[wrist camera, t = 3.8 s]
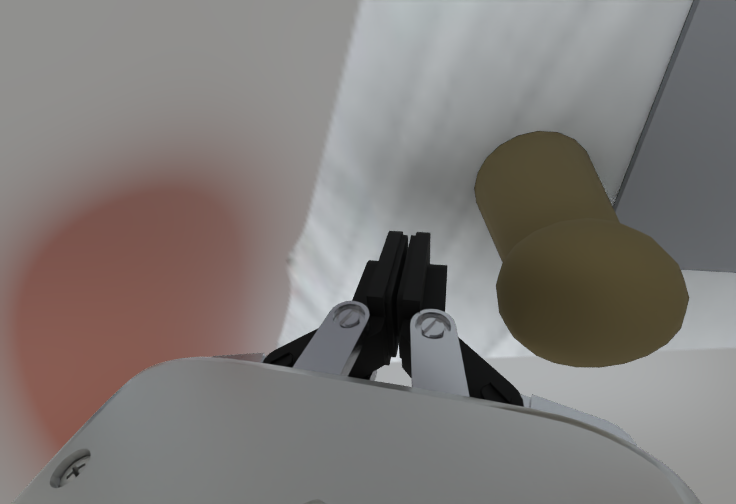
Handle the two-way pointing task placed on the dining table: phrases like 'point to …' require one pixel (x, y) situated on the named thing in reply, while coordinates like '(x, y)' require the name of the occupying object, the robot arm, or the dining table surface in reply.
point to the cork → (573, 258)
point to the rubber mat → (690, 148)
